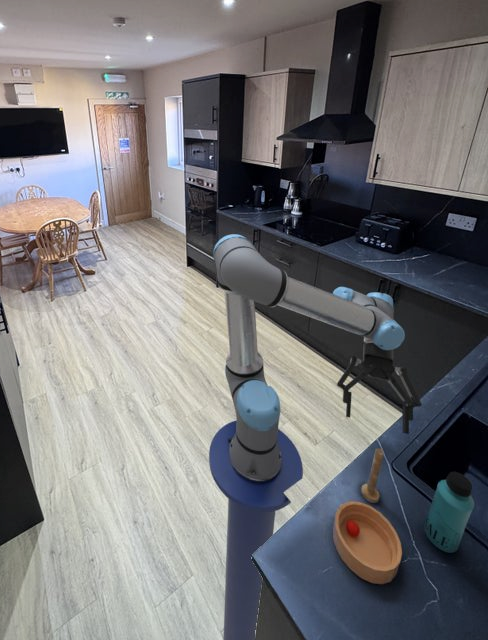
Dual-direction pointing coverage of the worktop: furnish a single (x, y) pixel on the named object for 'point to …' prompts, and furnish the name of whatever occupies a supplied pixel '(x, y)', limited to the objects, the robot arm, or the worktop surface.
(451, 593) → the worktop surface
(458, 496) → the beverage bottle
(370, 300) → the robot arm
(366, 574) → the bowl
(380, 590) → the worktop surface
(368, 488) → the wooden peg
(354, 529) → the cherry tomato
